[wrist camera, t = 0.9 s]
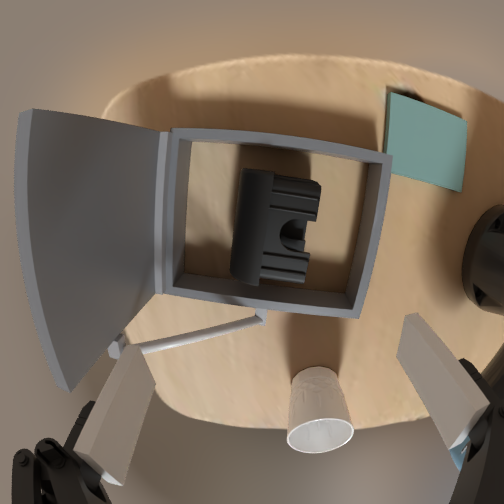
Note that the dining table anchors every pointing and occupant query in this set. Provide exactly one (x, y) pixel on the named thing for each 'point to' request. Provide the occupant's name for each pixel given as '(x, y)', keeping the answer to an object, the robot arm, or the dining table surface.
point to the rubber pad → (425, 142)
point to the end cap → (272, 226)
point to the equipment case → (143, 234)
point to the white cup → (318, 412)
